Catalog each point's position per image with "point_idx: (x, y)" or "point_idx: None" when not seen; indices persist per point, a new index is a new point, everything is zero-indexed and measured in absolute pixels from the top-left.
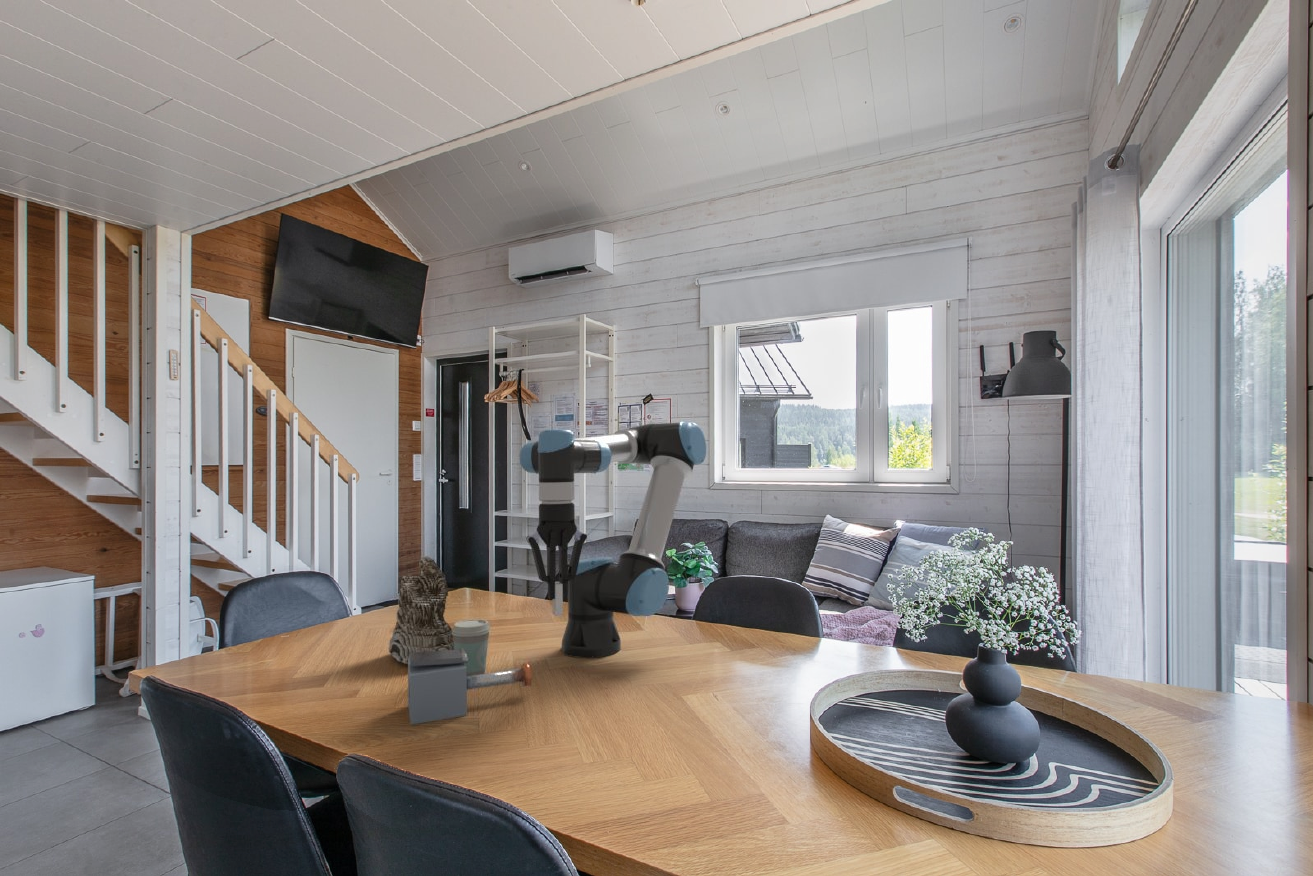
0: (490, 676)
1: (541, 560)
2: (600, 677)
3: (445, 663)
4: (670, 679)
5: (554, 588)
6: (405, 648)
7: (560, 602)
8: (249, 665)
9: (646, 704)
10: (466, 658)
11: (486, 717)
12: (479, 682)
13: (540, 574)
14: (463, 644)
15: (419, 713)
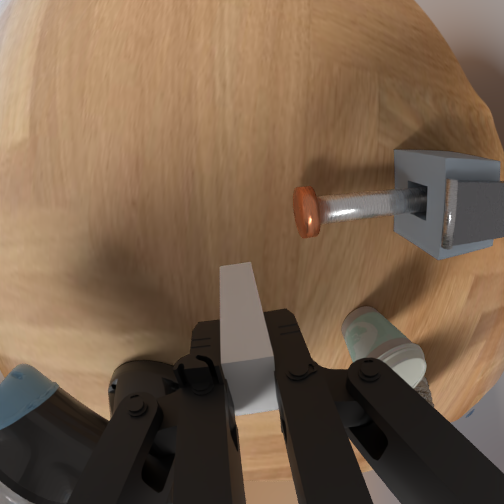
0: (381, 196)
1: (455, 478)
2: (140, 266)
3: (474, 180)
4: (32, 220)
5: (272, 349)
6: (425, 380)
7: (231, 293)
8: (489, 368)
9: (82, 103)
10: (452, 179)
11: (367, 127)
12: (396, 190)
13: (410, 390)
14: (405, 337)
15: (452, 152)
